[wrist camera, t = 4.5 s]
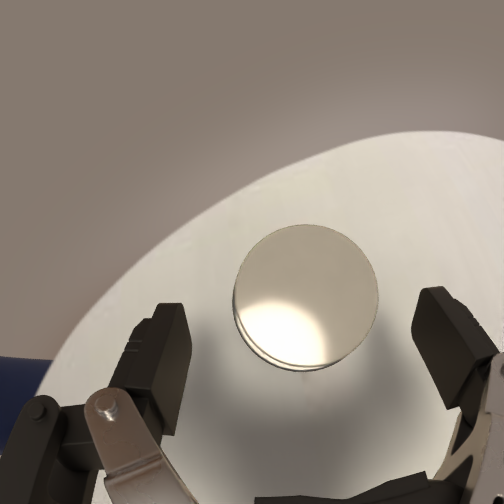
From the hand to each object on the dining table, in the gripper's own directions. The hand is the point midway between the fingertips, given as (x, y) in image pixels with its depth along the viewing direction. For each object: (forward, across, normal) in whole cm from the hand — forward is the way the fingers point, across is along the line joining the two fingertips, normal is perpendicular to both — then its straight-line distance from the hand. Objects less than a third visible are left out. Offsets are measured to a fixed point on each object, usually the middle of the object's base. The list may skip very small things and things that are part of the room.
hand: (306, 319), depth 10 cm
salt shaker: (+5, 0, +4) cm, 6 cm away
